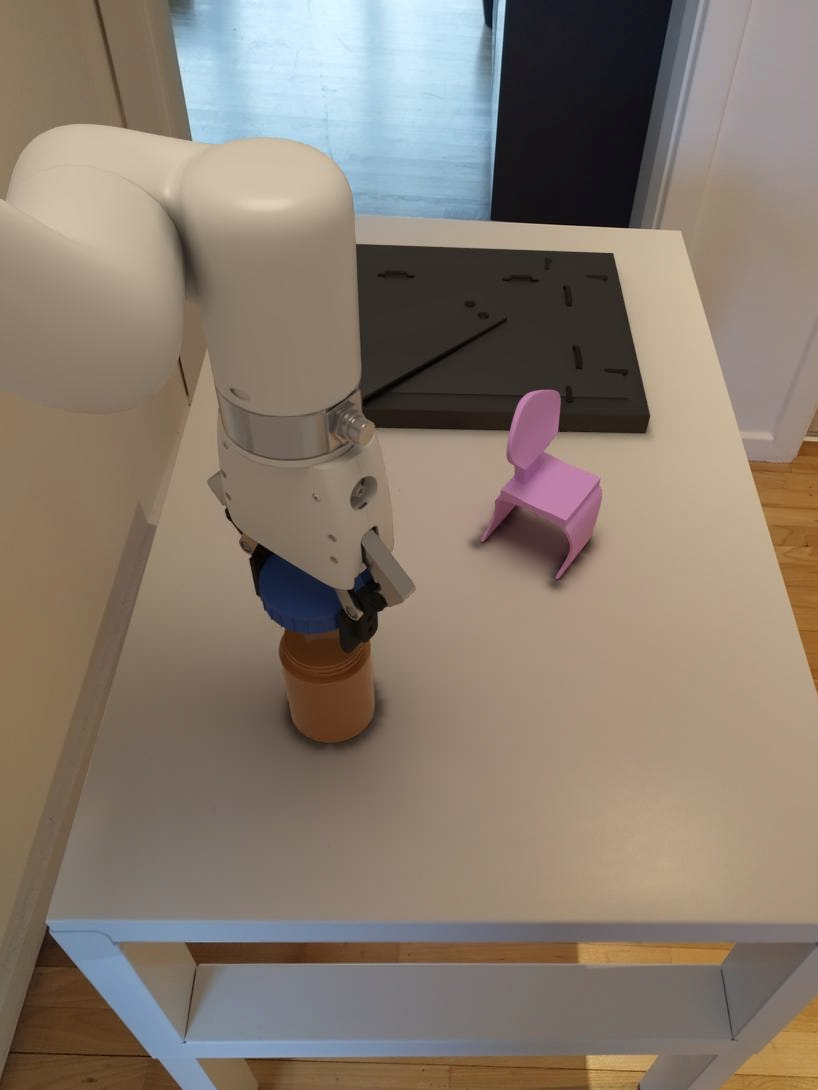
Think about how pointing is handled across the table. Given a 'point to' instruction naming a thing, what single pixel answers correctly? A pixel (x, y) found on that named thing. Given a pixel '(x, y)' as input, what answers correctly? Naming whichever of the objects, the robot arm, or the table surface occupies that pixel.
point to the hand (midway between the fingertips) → (316, 610)
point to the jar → (327, 685)
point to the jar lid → (299, 598)
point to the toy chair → (546, 476)
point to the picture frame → (495, 338)
